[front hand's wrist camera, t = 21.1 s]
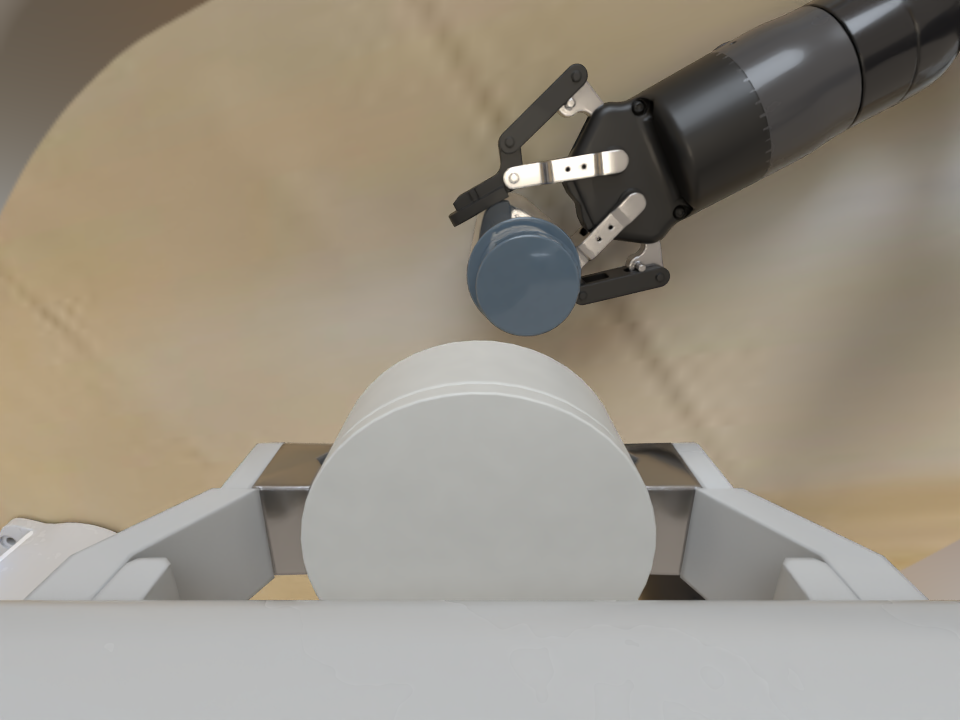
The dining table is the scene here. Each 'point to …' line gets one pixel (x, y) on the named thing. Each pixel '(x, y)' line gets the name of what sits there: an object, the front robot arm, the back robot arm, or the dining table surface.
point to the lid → (478, 487)
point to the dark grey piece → (522, 268)
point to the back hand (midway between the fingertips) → (474, 259)
